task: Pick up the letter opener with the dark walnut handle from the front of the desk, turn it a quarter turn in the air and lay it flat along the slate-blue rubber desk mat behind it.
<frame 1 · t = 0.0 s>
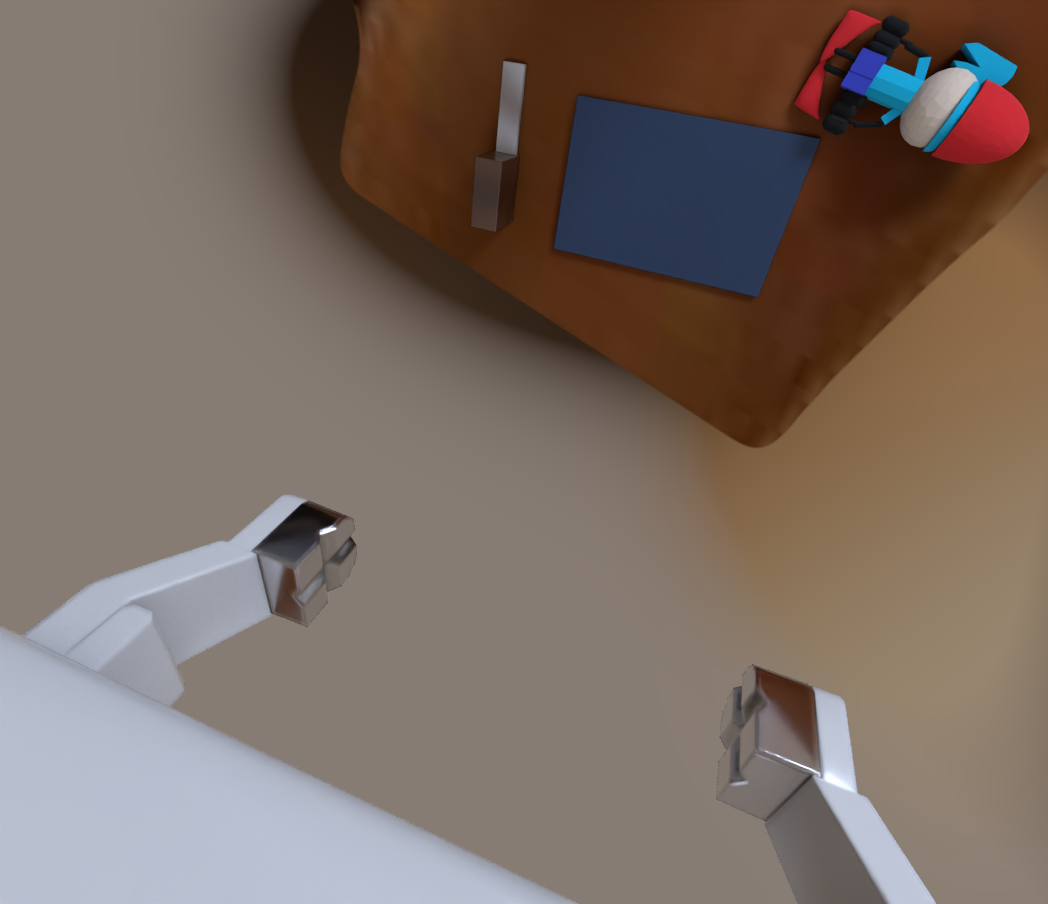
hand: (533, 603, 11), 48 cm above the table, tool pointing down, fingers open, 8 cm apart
toy figure: (911, 97, 41), on the table
desk mat: (671, 199, 49), on the table
letter opener: (503, 187, 54), on the table
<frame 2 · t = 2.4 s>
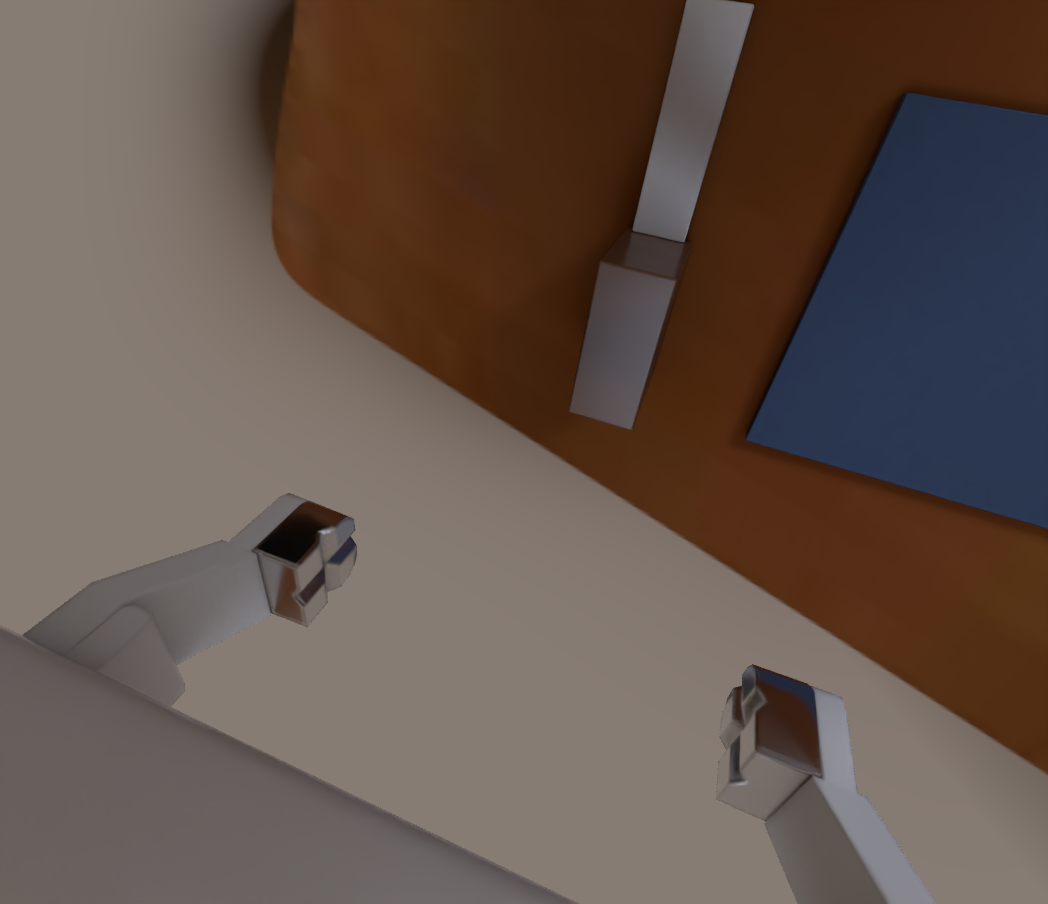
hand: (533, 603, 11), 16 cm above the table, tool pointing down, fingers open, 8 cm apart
letter opener: (639, 307, 23), on the table
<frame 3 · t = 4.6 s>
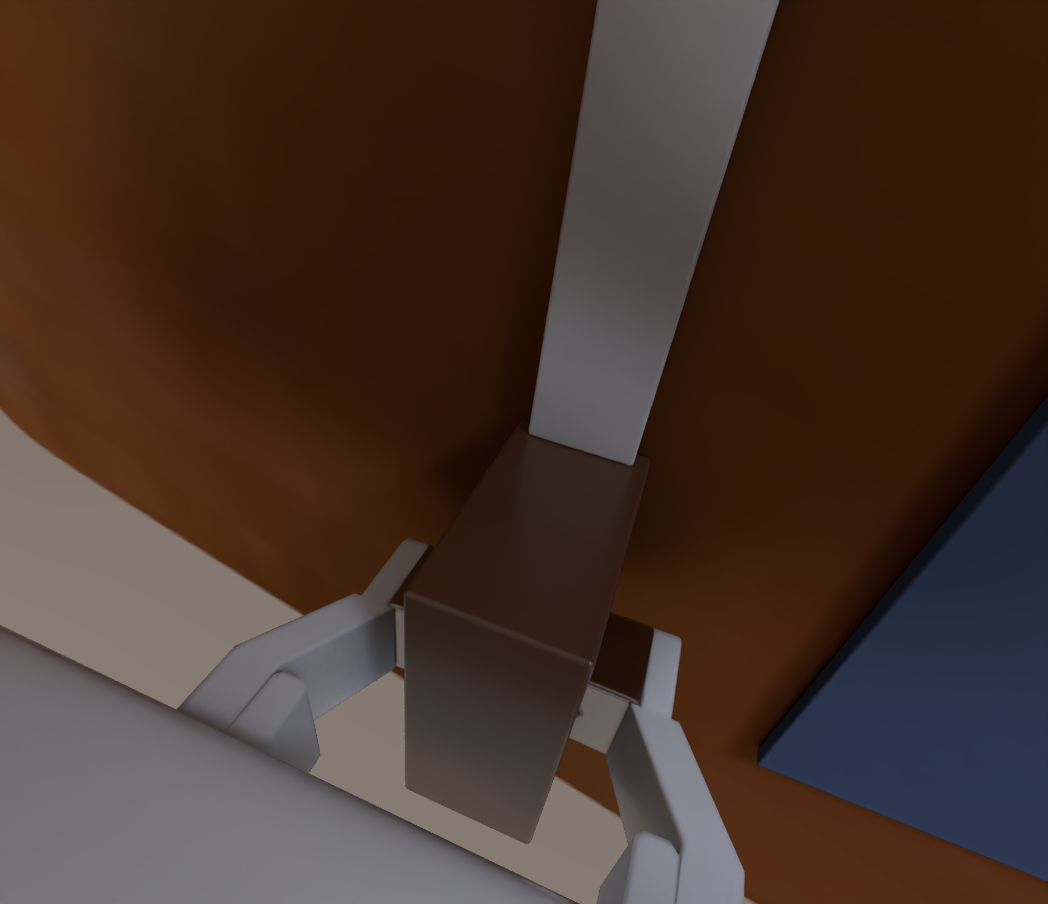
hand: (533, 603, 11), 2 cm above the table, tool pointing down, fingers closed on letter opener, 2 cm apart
letter opener: (559, 546, 12), on the table, touching gripper
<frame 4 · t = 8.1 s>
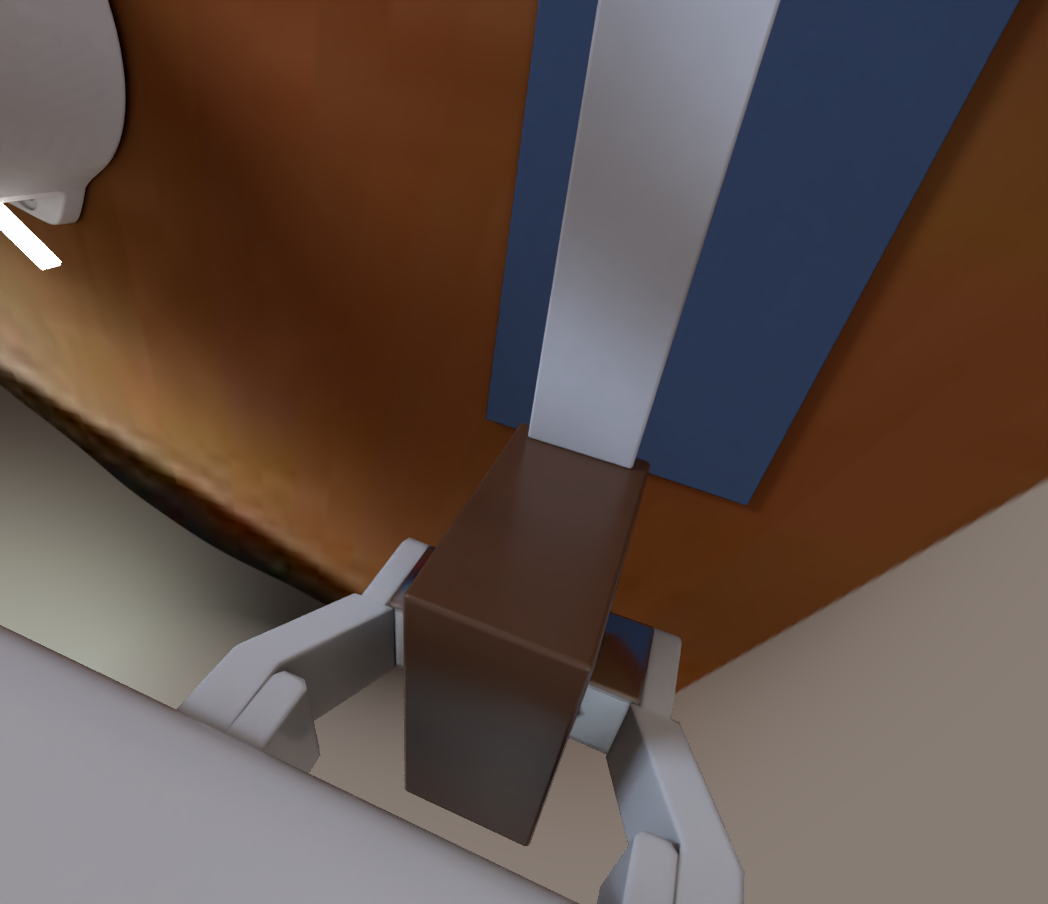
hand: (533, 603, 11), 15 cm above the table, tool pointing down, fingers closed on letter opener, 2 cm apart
desk mat: (677, 247, 21), on the table
letter opener: (558, 548, 12), point 13 cm above the table, touching gripper
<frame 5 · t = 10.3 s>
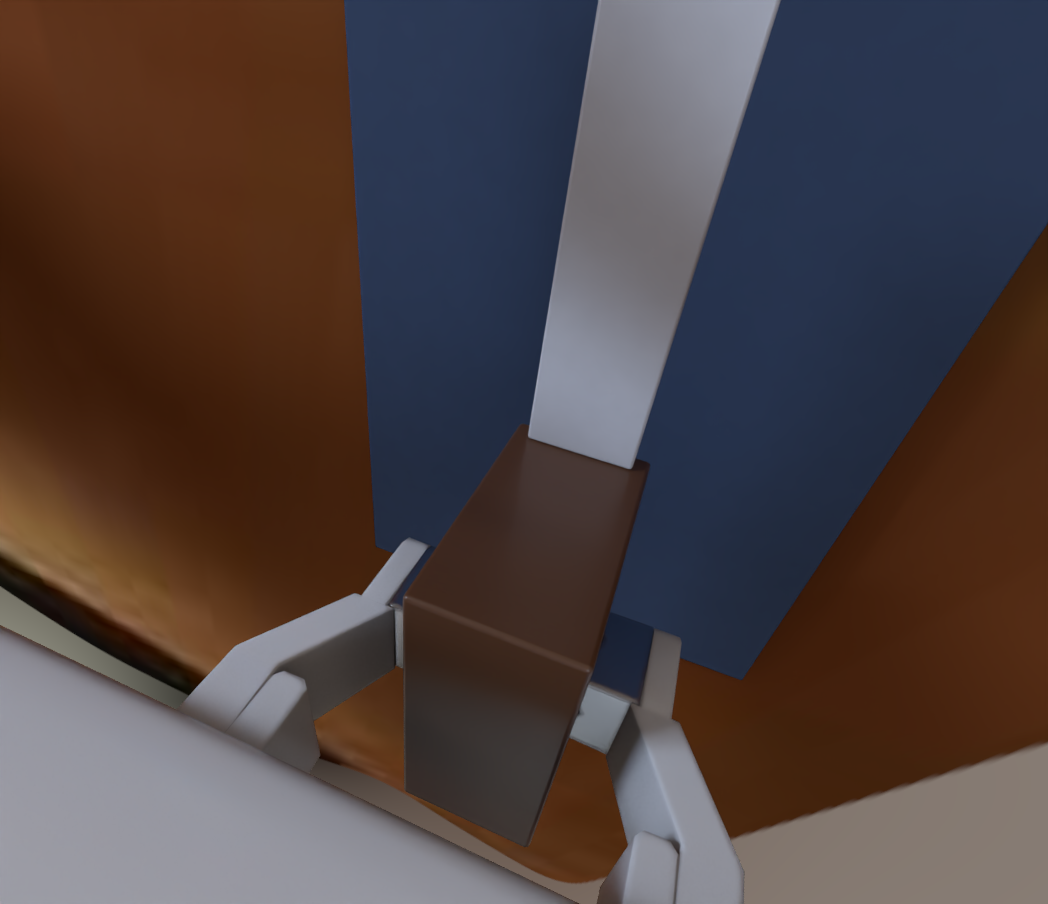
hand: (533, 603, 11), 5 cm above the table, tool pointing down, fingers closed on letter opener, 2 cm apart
desk mat: (614, 331, 13), on the table
letter opener: (558, 549, 12), point 4 cm above the table, touching gripper
when the fingers open (2 cm above the table, at t = 11.4 s): letter opener stays where it is, resting on desk mat.
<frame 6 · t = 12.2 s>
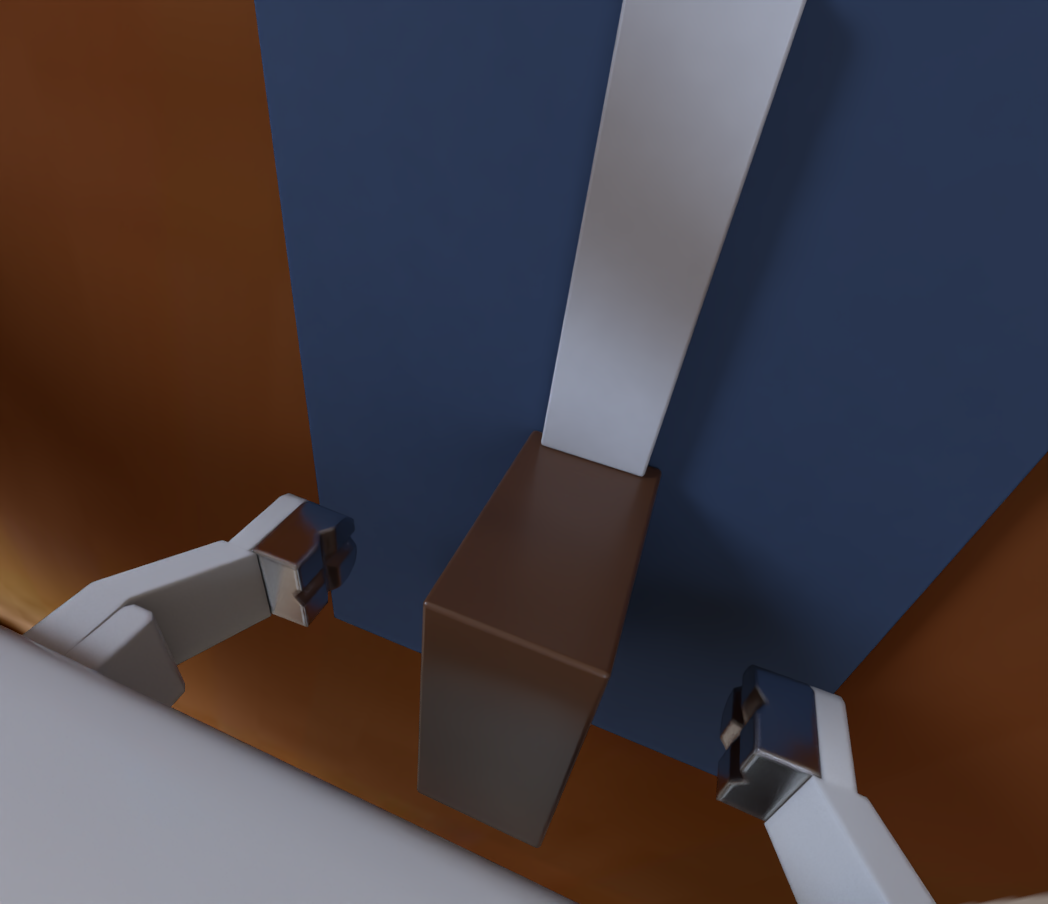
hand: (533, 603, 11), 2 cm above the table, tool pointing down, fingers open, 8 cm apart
desk mat: (599, 405, 11), on the table
letter opener: (568, 553, 12), resting on desk mat
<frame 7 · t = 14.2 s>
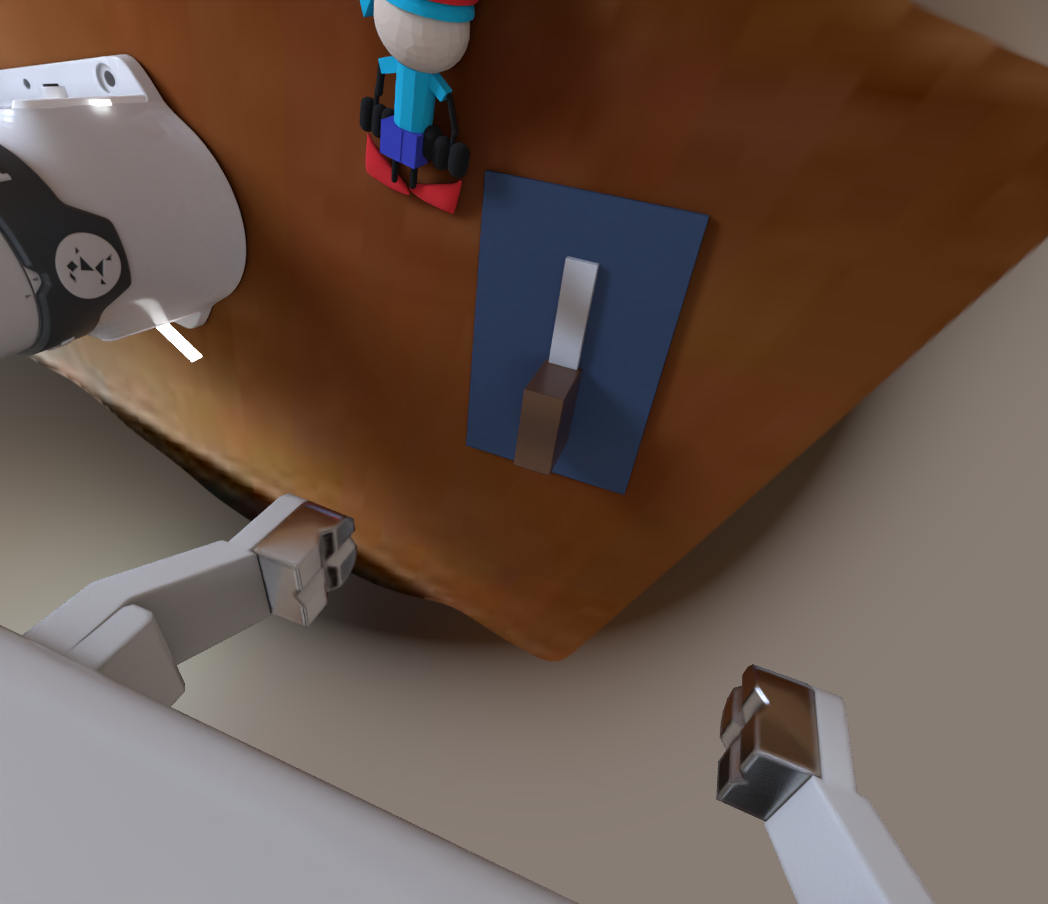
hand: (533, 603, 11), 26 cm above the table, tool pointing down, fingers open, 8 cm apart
toy figure: (436, 56, 30), on the table
desk mat: (565, 351, 37), on the table
letter opener: (557, 401, 39), resting on desk mat
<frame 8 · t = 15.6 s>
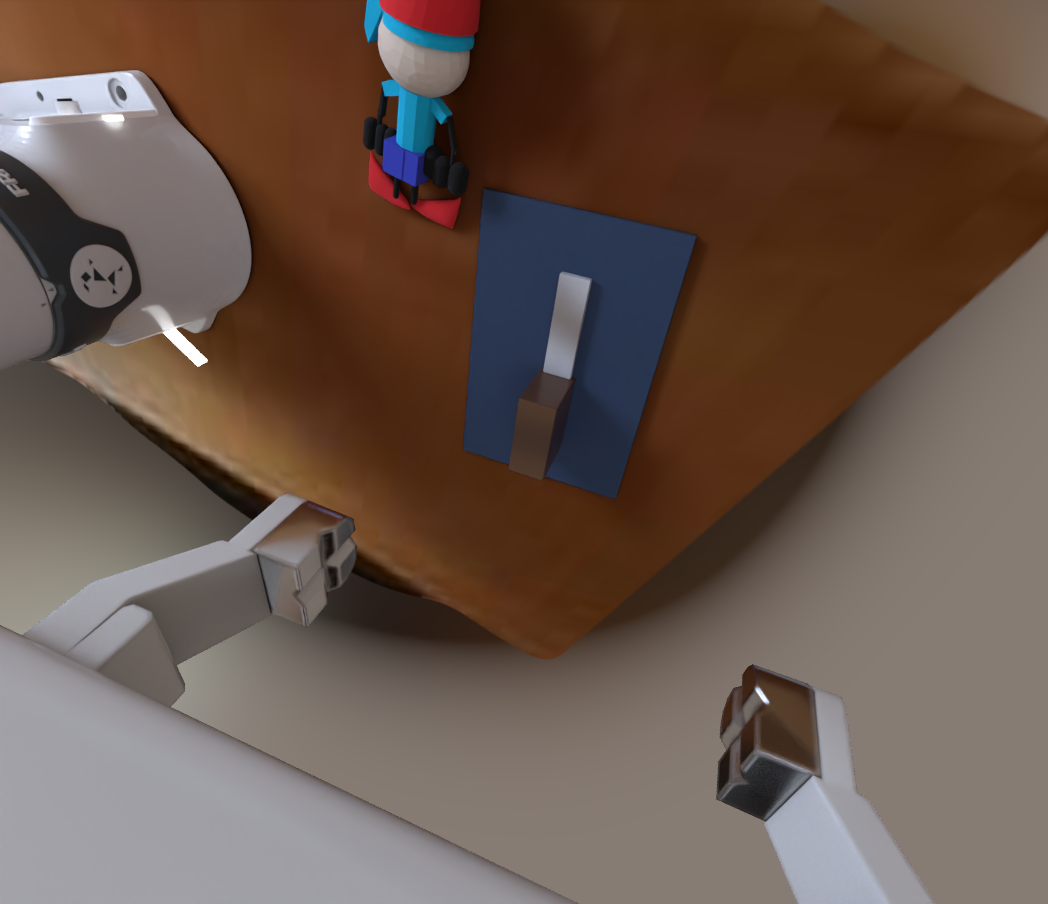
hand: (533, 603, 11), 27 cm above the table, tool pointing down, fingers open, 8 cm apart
toy figure: (437, 80, 31), on the table
desk mat: (559, 361, 38), on the table
letter opener: (551, 408, 40), resting on desk mat
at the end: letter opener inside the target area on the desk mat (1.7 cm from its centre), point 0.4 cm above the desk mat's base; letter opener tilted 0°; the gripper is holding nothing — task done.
